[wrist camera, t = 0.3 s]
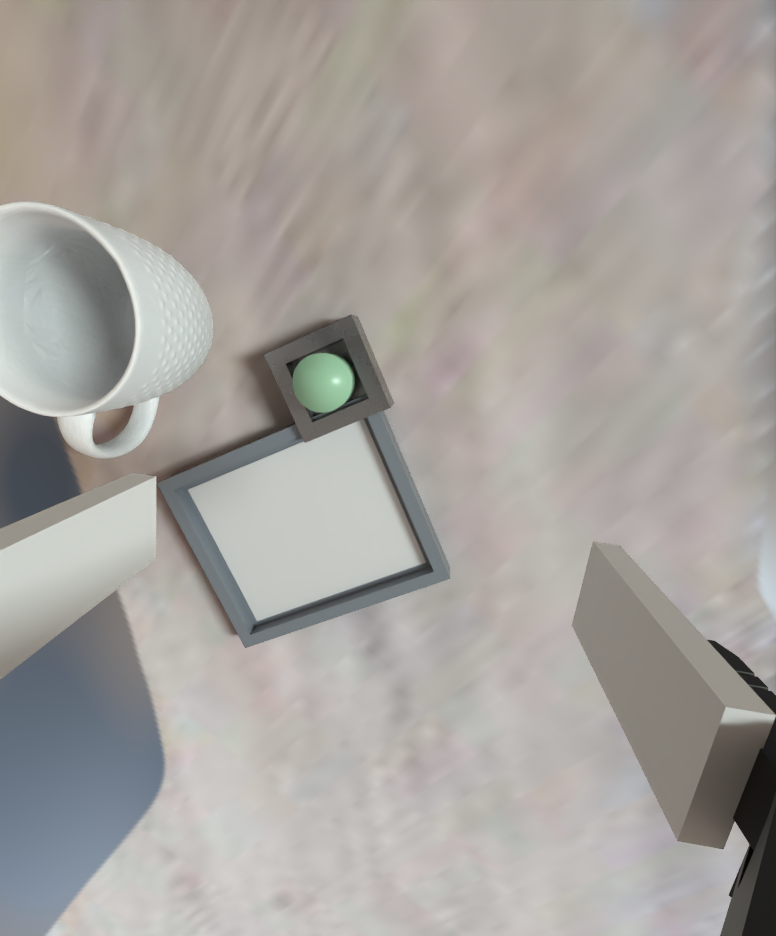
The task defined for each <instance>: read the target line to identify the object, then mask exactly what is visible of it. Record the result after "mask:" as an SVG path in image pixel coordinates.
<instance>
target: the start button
mask: <svg viewBox="0 0 776 936" xmlns="http://www.w3.org/2000/svg"><path fill="white" fill-rule="evenodd" d="M292 385H293V390H294V393H295V395H296V397H297V399H298V400H299V402H300V403H301V404H302V405H303V406H305V407H306V408H307V409H309V410H311V411H314V412H320V413H325V412H330V411H333V410H335V409H337V408H338V407H340V406H341V405H343V404H344V403H346V402H347V401H348V400H349V398H350V397H351V395H352V394H353V391H354V388H355V375H354V372H353V369H352V367H351V366H350V364H349V363H348V362H347V361H346V360H345V359H344V358H342V357H341V356H339V355H337V354H333V353H318V354H312V355H309V356H307V357H305V358H304V359H303V360H301V361H300V362H299V364H298V365H297V367H296V368H295V371H294V373H293V378H292Z"/></svg>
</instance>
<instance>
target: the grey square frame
mask: <svg viewBox="0 0 776 936" xmlns="http://www.w3.org/2000/svg"><path fill="white" fill-rule="evenodd" d="M318 353H333V354H337V355H339V356H341V357H342V358H344V359H345V360H346V361H347V362H348V363H349V364H350V366H351V367H352V369H353V372H354V375H355V388H354V391H353V394H352V395H351V397H350V398H349V400H348V401H351V400H353V399H355V398H358V397H360V396H363V395H365V394H367V396H368V399H365V400H363V401H360V402H358V403H356V404H353V405H351V406H349V407H346V408H344V409H342V410H339V411H337V412H334V413H332V414H330V415H327V416H325V417H323V418H320V419H318V420H316V421H315V420H314V418H313V417H314V416H316V415H318V414H320V412H314V411H311V410H309V409H307V408H306V407H305V406H303V405H302V404H301V403H300V402H299V400H298V399H297V397H296V395H295V393H294V390H293V385H292V378H293V373H294V371H295V368H296V367H297V365H298V364H299V362H300V361H301V360H303V359H304V358H305V357H307V356H309V355H312V354H318ZM264 357H265V359H266V361H267V363H268V365H269V367H270V369H271V372H272V374H273V376H274V378H275V380H276V382H277V385H278V387H279V389H280V391H281V393H282V395H283V397H284V400H285V402H286V404H287V406H288V408H289V410H290V413H291V415H292V417H293V419H294V421H295V423H296V425H297V428H298V430H299V432H300V434H301V436H302V438H303V440H304V443H306V442H309V441H311V440H314V439H316V438H318V437H321V436H323V435H326V434H328V433H330V432H333V431H335V430H338V429H340V428H343V427H345V426H347V425H350V424H352V423H355V422H357V421H359V420H362V419H364V418H367V417H369V416H371V415H374V414H376V413H379V412H381V411H383V410H386V409H388V408H391V406H392V405H393V403H394V402H393V400H392V397H391V395H390V393H389V390H388V388H387V385H386V383H385V381H384V378H383V376H382V373H381V371H380V369H379V366H378V364H377V361H376V359H375V357H374V354H373V352H372V349H371V347H370V345H369V342H368V340H367V338H366V335H365V333H364V330H363V328H362V326H361V323H360V321H359V318H358V317H357V316H354V315H349V316H347V317H345V318H343V319H341V320H338V321H336V322H334V323H332V324H330V325H328V326H325V327H323V328H321V329H319V330H317V331H315V332H312V333H310V334H308V335H306V336H304V337H301V338H299V339H297V340H295V341H293V342H291V343H288V344H286V345H284V346H282V347H280V348H278V349H275V350H273V351H271V352H269V353H267V354H264ZM348 401H347V402H348Z"/></svg>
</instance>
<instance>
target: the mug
mask: <svg viewBox="0 0 776 936" xmlns="http://www.w3.org/2000/svg"><path fill="white" fill-rule="evenodd" d="M212 336H213V318H212V315H211V310H210V306H209V304H208V301H207V298H206V296H205V295H204V293H203V291H202V288H201V287H200V286H199V285H198V283H197V281H196V280H195V279H194V278H193V277H192V276H191V274H190V273H189V272H188V271H187V270H186V269H184V267H183V266H182V265H181V264H180V263H179V262H178V261H176V260H174V259H173V257H172V256H171V255H169V254H167V253H165V252H164V251H163V250H162V249H161V248H159V247H157V246H154V245H152V244H151V243H150V242H148V241H147V240H144V239H141V238H139V237H137V236H135V235H134V234H131V233H128V232H125V231H124V230H122V229H120V228H116V227H113V226H111V225H109V224H107V223H105V222H100V221H97V220H95V219H93V218H91V217H89V216H84V215H80V214H77V213H75V212H72V211H69V210H67V209H64V208H61V207H58V206H54V205H50V204H46V203H39V202H14V203H8V204H4V205H1V206H0V396H2V397H3V398H4V399H6V400H8V401H9V402H11V403H12V404H14V405H16V406H18V407H20V408H23V409H25V410H28V411H30V412H33V413H37V414H40V415H45V416H52V417H57V420H58V425H59V428H60V431H61V434H62V436H63V438H64V439H65V441H66V442H67V443H68V445H70V446H71V447H72V448H73V449H74V450H76V451H78V452H80V453H82V454H85V455H87V456H90V457H94V458H101V459H109V458H115V457H119V456H122V455H124V454H126V453H129V452H130V451H132V450H133V449H135V448H136V447H137V446H138V445H140V444H141V443H142V441H143V440H144V439H145V438H146V436H147V435H148V433H149V431H150V429H151V427H152V425H153V422H154V419H155V415H156V411H157V407H158V402H159V397H160V396H161V395H163V394H165V393H169V392H171V391H172V390H173V389H175V388H177V387H179V386H180V385H181V384H182V383H183V382H186V381H187V380H188V379H189V377H190V376H192V375H193V374H194V373H195V371H196V370H197V369H198V368H200V367H201V365H202V363H203V361H204V360H205V359H206V357H207V354H208V352H209V351H210V347H211V343H212ZM132 405H134V407H133V411H132V414H131V417H130V419H129V422H128V423H127V425H126V427H125V428H124V429H123V431H122V432H121V433H120V434H119V435H117V436H116V437H115V438H113V439H111V440H110V441H107V442H105V443H101V444H95V443H94V442H93V438H92V434H93V432H92V429H93V423H94V420H95V415H96V412H104V411H109V410H112V409H121V408H123V407H126V406H132Z"/></svg>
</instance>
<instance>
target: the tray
mask: <svg viewBox="0 0 776 936" xmlns="http://www.w3.org/2000/svg"><path fill="white" fill-rule="evenodd" d="M365 399H368V396H367V394H365V395H363V396H360V397H358V398H355V399H353V400H351V401H348V402H346V403H344V404H343V405H341V406H340V407H338V408H337V409H335V410H333V411H330V412H325V413H320V414H318V415H316V416H314V417H313V418H314V420H315V421H316V420H318V419H320V418H323V417H325V416H327V415H330V414H332V413H334V412H337V411H339V410H342V409H344V408H346V407H349V406H351V405H353V404H356V403H358V402H360V401H363V400H365ZM157 485H158V487H159V489H160V491H161V492H162V494H163V496H164V498H165V500H166V502H167V504H168V505H169V507H170V509H171V511H172V513H173V515H174V517H175V518H176V520H177V522H178V524H179V526H180V528H181V530H182V531H183V533H184V535H185V537H186V539H187V541H188V543H189V544H190V546H191V548H192V550H193V552H194V554H195V556H196V557H197V559H198V561H199V563H200V565H201V567H202V569H203V570H204V572H205V574H206V576H207V578H208V580H209V582H210V583H211V585H212V587H213V589H214V591H215V593H216V595H217V596H218V598H219V600H220V602H221V604H222V606H223V608H224V609H225V611H226V613H227V615H228V617H229V619H230V621H231V622H232V624H233V626H234V628H235V630H236V632H237V634H238V635H239V637H240V639H241V641H242V643H243V645H244V647H245V648H247V647H250V646H253V645H255V644H258V643H261V642H264V641H267V640H270V639H273V638H276V637H279V636H282V635H285V634H288V633H291V632H294V631H297V630H300V629H303V628H306V627H309V626H312V625H315V624H318V623H320V622H323V621H326V620H329V619H332V618H335V617H338V616H341V615H344V614H347V613H350V612H353V611H356V610H359V609H362V608H365V607H368V606H371V605H374V604H377V603H380V602H383V601H385V600H388V599H391V598H394V597H397V596H400V595H403V594H406V593H409V592H412V591H415V590H418V589H421V588H424V587H427V586H430V585H433V584H436V583H439V582H442V581H445V580H447V579H450V567H449V564H448V562H447V559H446V557H445V555H444V552H443V550H442V548H441V545H440V543H439V541H438V538H437V536H436V533H435V531H434V529H433V526H432V524H431V522H430V519H429V517H428V515H427V512H426V510H425V508H424V505H423V503H422V500H421V498H420V496H419V493H418V491H417V489H416V486H415V484H414V482H413V479H412V477H411V475H410V472H409V470H408V467H407V465H406V463H405V460H404V458H403V456H402V453H401V451H400V449H399V446H398V444H397V442H396V439H395V437H394V434H393V432H392V430H391V427H390V425H389V423H388V420H387V418H386V416H385V413H384V411H381V412H379V413H376V414H374V415H371V416H369V417H367V418H364V419H362V420H359V421H357V422H355V423H352V424H350V425H347V426H345V427H343V428H340V429H338V430H335V431H333V432H330V433H328V434H326V435H323V436H321V437H318V438H316V439H314V440H311V441H309V442H306V443H304V440H303V438H302V436H301V434H300V432H299V430H298V428H297V425H296V423H295V424H293V425H291V426H288V427H286V428H284V429H281V430H279V431H277V432H274V433H272V434H269V435H267V436H265V437H262V438H260V439H258V440H255V441H253V442H251V443H248V444H246V445H244V446H241V447H239V448H237V449H234V450H232V451H229V452H227V453H225V454H222V455H220V456H218V457H215V458H213V459H211V460H208V461H206V462H204V463H201V464H199V465H197V466H194V467H192V468H189V469H187V470H185V471H182V472H180V473H178V474H175V475H173V476H171V477H169V478H167V479H165V480H163V481H161V482H159V483H157Z"/></svg>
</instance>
